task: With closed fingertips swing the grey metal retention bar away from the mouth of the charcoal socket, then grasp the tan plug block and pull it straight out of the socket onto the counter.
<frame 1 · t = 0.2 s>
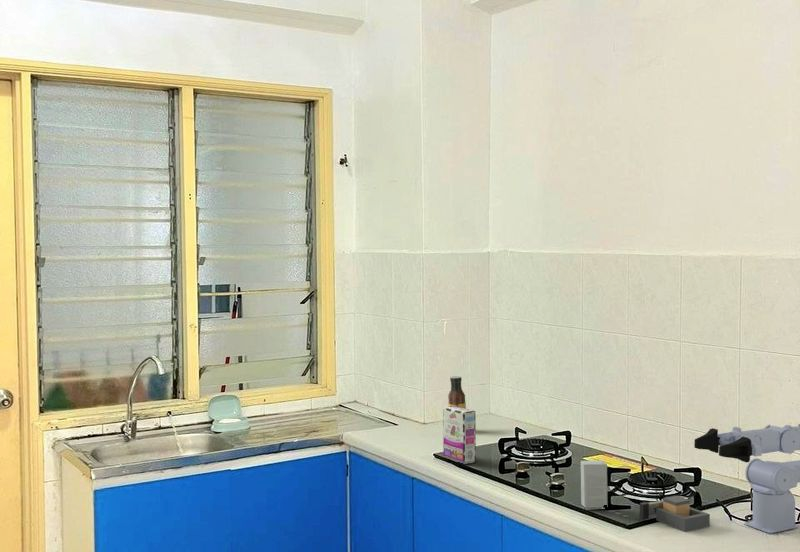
hand: (707, 447, 206), 21 cm above the worktop, tool horizontal, fingers open, 7 cm apart
plug: (676, 521, 221), on the worktop
clip: (662, 507, 223), point 3 cm above the worktop, hinge at 0.0°
sauce bottle: (457, 432, 323), on the worktop
socket: (682, 523, 219), on the worktop
candy bar box: (459, 461, 282), on the worktop
skincare box: (593, 508, 232), on the worktop
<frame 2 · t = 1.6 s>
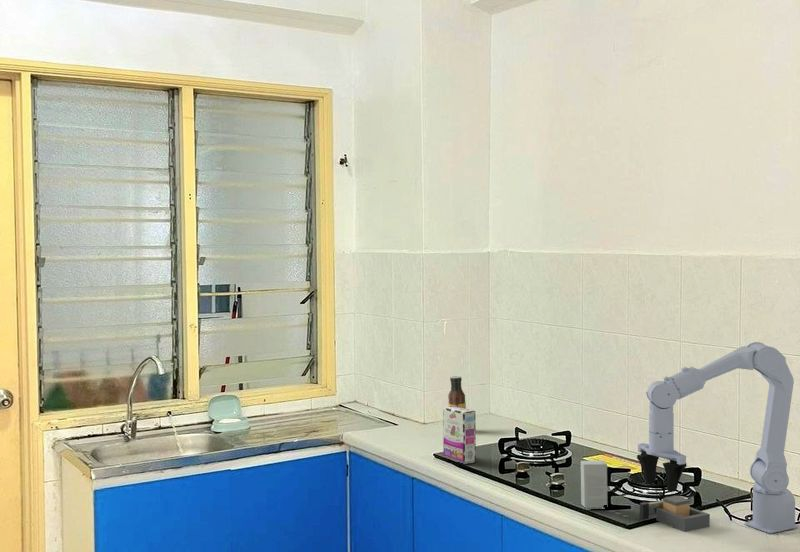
hand: (661, 487, 217), 9 cm above the worktop, tool pointing down, fingers open, 7 cm apart
nothing on the worktop moved.
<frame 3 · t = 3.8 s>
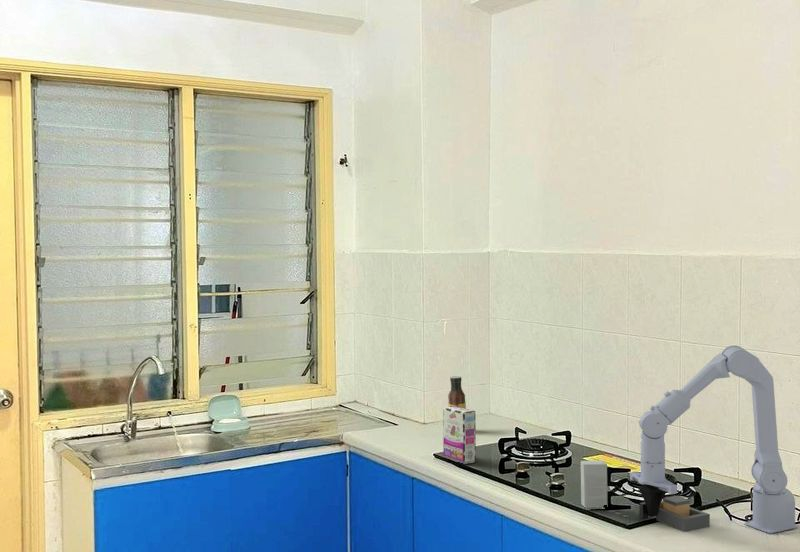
hand: (652, 515, 220), 2 cm above the worktop, tool pointing down, fingers closed
clip: (662, 507, 223), point 3 cm above the worktop, hinge at 0.7°, touching gripper
everything else where it was.
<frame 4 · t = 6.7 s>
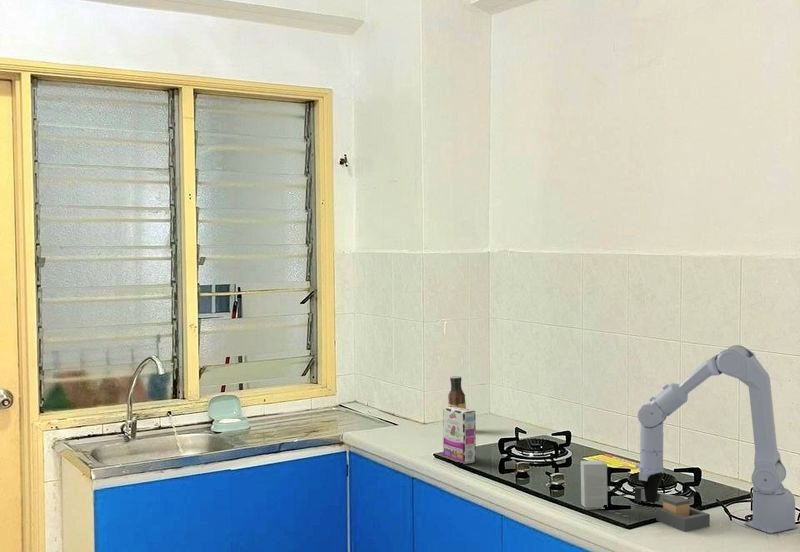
hand: (650, 501, 230), 2 cm above the worktop, tool pointing down, fingers closed, pressing on clip
clip: (659, 499, 230), point 3 cm above the worktop, hinge at 71.5°, touching gripper
everything else where it was.
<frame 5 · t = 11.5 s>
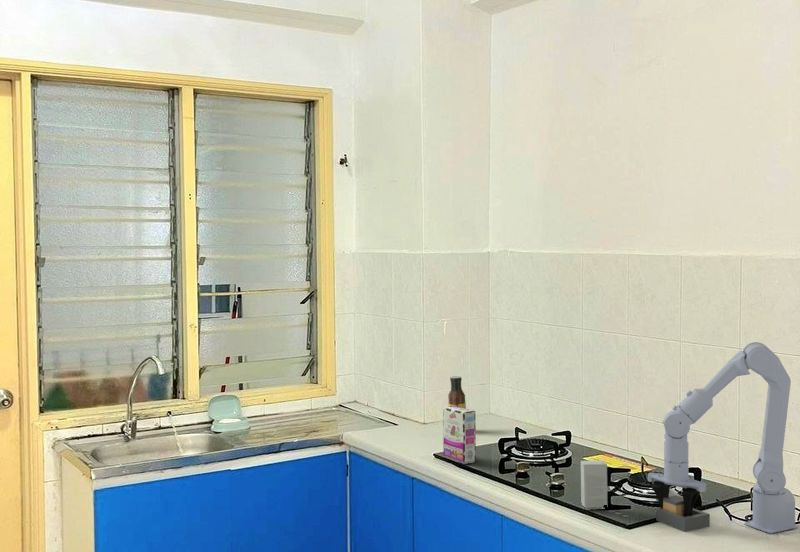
hand: (676, 515, 221), 1 cm above the worktop, tool pointing down, fingers closed on plug, 5 cm apart
plug: (676, 520, 221), on the worktop, touching gripper
clip: (672, 497, 232), point 3 cm above the worktop, hinge at 112.2°
everything else where it was.
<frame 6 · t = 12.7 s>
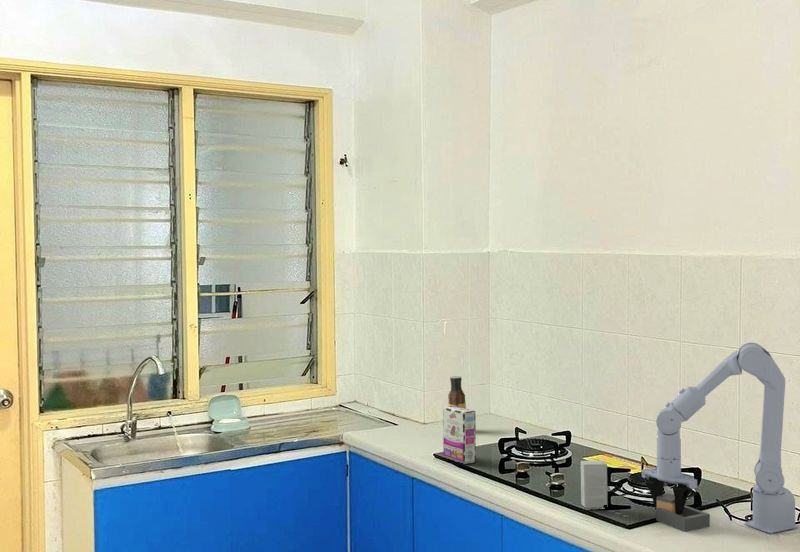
hand: (668, 511, 223), 2 cm above the worktop, tool pointing down, fingers open, 5 cm apart
plug: (669, 518, 222), on the worktop, touching gripper
everything else where it was.
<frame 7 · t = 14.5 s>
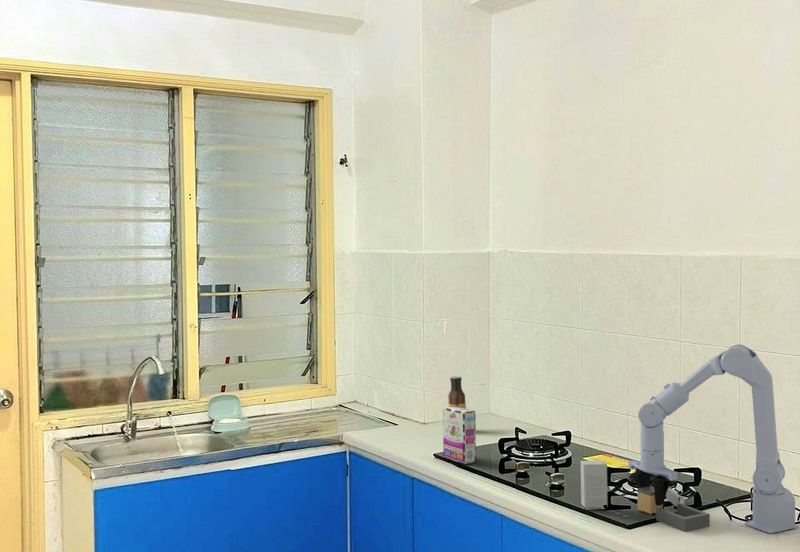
hand: (652, 502, 228), 2 cm above the worktop, tool pointing down, fingers closed on plug, 4 cm apart
plug: (650, 510, 228), on the worktop, touching gripper
everything else where it was.
when the fingers open (2 cm above the worktop, at t = 14.6 s): plug stays where it is, on the worktop.
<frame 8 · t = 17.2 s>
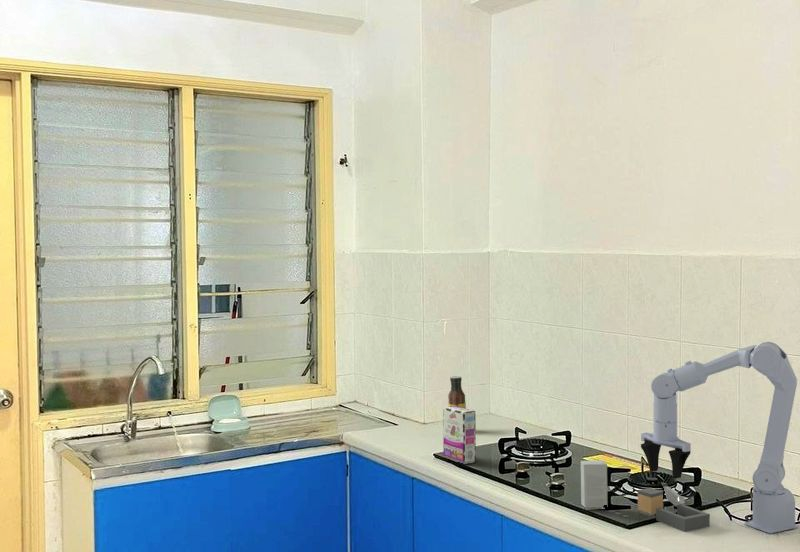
hand: (665, 474, 226), 10 cm above the worktop, tool pointing down, fingers open, 7 cm apart
plug: (650, 512, 228), on the worktop
everything else where it was.
at the end: clip at +112° (first picture: +0°); plug inside the target area (1.0 cm from its centre), on the worktop; plug tilted 0° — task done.
